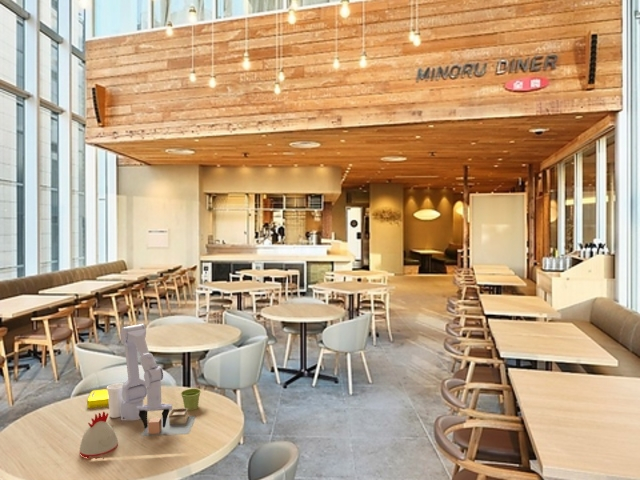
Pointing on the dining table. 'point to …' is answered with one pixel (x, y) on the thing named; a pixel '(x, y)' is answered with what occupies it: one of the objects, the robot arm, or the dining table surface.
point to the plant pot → (191, 398)
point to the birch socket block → (178, 416)
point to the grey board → (173, 428)
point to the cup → (115, 399)
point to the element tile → (98, 399)
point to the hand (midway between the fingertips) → (155, 426)
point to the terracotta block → (154, 425)
